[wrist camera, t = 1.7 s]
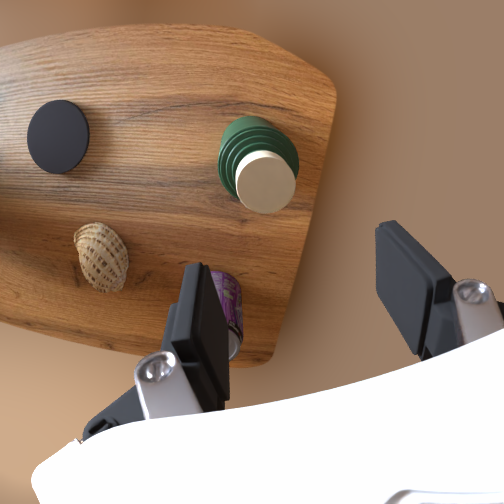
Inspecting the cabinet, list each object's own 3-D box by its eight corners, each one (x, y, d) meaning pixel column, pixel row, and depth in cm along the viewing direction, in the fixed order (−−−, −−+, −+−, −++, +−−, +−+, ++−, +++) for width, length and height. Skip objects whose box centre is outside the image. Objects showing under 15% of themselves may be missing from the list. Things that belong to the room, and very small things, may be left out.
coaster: (44, 89, 31) (42, 89, 31) (101, 117, 34) (100, 118, 34) (21, 154, 35) (18, 155, 34) (73, 184, 38) (71, 186, 37)
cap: (254, 140, 22) (257, 145, 20) (300, 169, 24) (307, 177, 22) (225, 185, 24) (224, 195, 22) (270, 211, 25) (274, 223, 23)
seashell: (84, 248, 46) (123, 296, 45) (56, 256, 40) (97, 309, 39) (105, 211, 43) (148, 261, 42) (77, 215, 37) (122, 271, 37)
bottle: (241, 105, 35) (250, 114, 20) (290, 136, 37) (333, 170, 22) (210, 153, 38) (196, 199, 22) (258, 182, 40) (278, 245, 24)
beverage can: (227, 314, 49) (227, 373, 39) (184, 297, 47) (174, 355, 37) (249, 280, 47) (255, 337, 36) (204, 260, 45) (197, 315, 34)
